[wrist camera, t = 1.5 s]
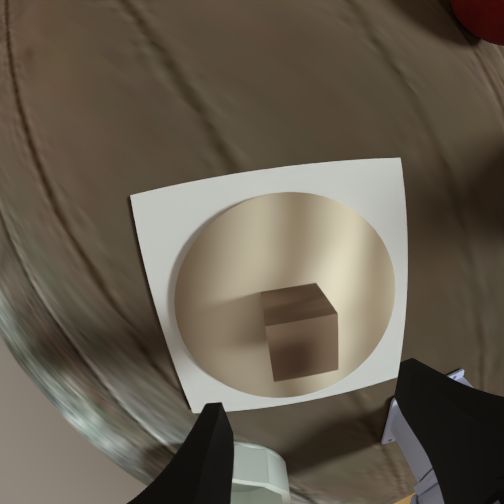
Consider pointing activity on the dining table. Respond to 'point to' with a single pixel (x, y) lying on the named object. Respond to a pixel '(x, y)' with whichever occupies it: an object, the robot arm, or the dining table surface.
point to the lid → (284, 294)
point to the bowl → (258, 476)
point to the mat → (248, 187)
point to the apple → (481, 18)
